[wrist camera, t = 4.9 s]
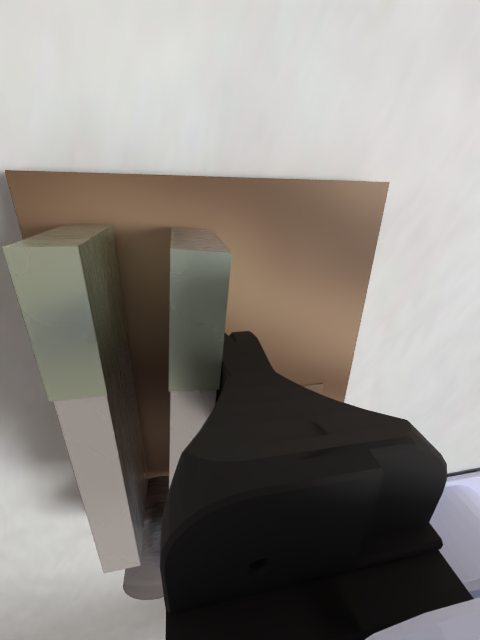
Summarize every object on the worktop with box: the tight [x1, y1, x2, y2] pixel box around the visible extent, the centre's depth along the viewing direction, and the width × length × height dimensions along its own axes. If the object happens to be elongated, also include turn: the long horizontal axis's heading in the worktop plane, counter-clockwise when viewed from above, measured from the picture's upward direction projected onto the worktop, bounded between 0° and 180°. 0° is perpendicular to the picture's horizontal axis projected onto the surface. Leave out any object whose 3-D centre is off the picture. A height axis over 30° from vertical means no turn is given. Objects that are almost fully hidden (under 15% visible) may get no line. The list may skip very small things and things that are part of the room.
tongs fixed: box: [2, 225, 169, 600], centre depth 10 cm, size 14×3×4 cm, turn 179°
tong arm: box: [169, 227, 232, 489], centre depth 10 cm, size 11×1×4 cm, turn 174°
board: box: [5, 170, 389, 479], centre depth 13 cm, size 16×12×1 cm
